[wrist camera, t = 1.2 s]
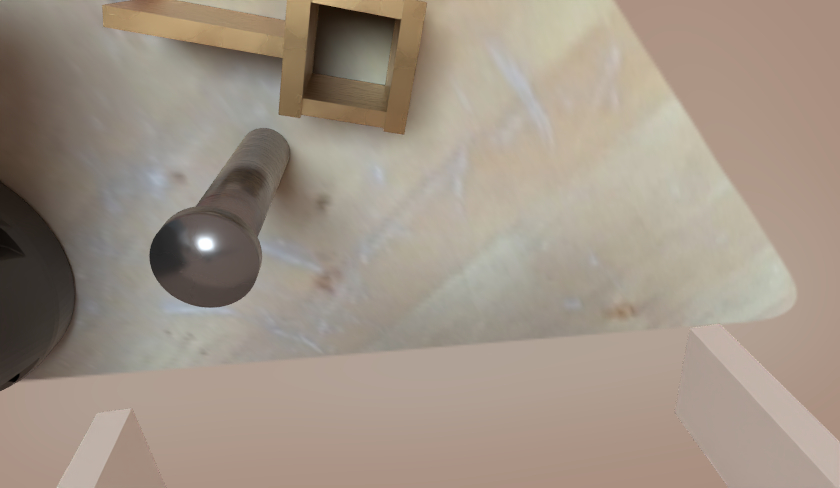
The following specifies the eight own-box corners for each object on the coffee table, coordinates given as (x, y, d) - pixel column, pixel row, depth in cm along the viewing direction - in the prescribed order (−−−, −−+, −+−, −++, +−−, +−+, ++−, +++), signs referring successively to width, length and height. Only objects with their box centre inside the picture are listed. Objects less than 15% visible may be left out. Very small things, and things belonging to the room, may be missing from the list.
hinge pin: (230, 177, 31) (151, 301, 20) (232, 113, 30) (148, 208, 18) (296, 186, 32) (255, 312, 20) (301, 124, 30) (261, 223, 19)
